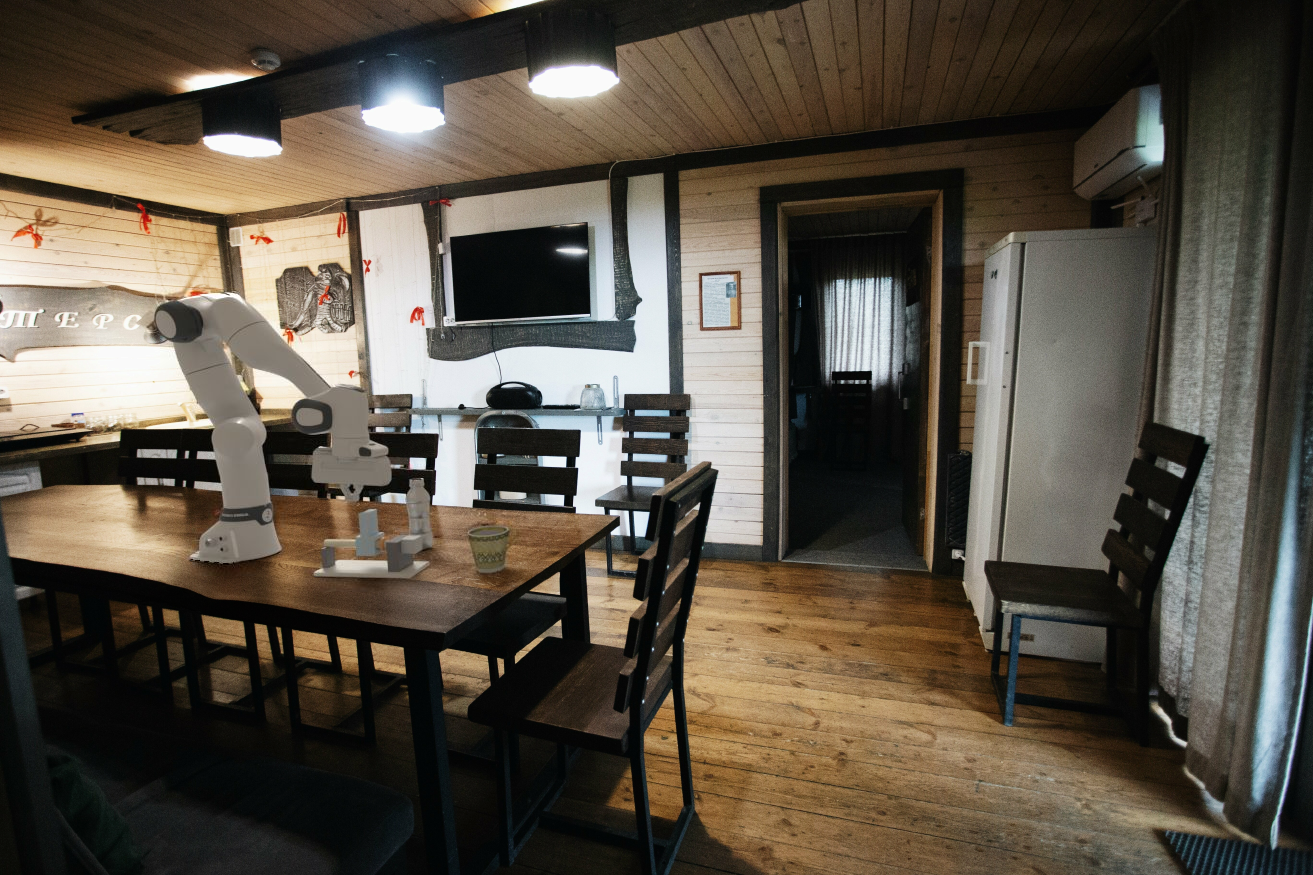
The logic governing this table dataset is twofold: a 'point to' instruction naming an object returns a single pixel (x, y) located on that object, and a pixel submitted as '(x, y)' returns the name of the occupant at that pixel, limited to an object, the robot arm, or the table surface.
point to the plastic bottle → (419, 512)
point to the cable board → (394, 567)
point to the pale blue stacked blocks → (368, 534)
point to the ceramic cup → (490, 547)
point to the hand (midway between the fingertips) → (352, 500)
